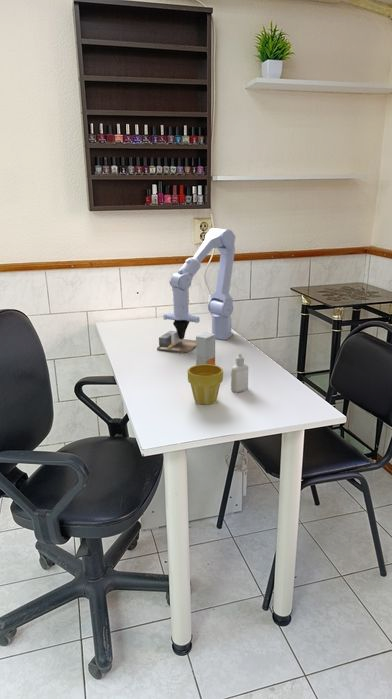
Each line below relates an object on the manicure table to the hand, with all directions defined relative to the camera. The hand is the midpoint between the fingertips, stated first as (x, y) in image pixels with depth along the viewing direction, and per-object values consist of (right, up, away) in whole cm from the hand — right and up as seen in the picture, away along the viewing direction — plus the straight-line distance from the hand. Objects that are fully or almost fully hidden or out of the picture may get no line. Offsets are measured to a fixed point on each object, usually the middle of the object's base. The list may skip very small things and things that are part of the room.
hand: (181, 338), depth 194 cm
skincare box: (+9, -11, -21) cm, 25 cm away
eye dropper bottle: (+19, -17, -40) cm, 47 cm away
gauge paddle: (-3, -2, 0) cm, 3 cm away
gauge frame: (0, -3, +1) cm, 3 cm away
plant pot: (+8, -20, -46) cm, 51 cm away
